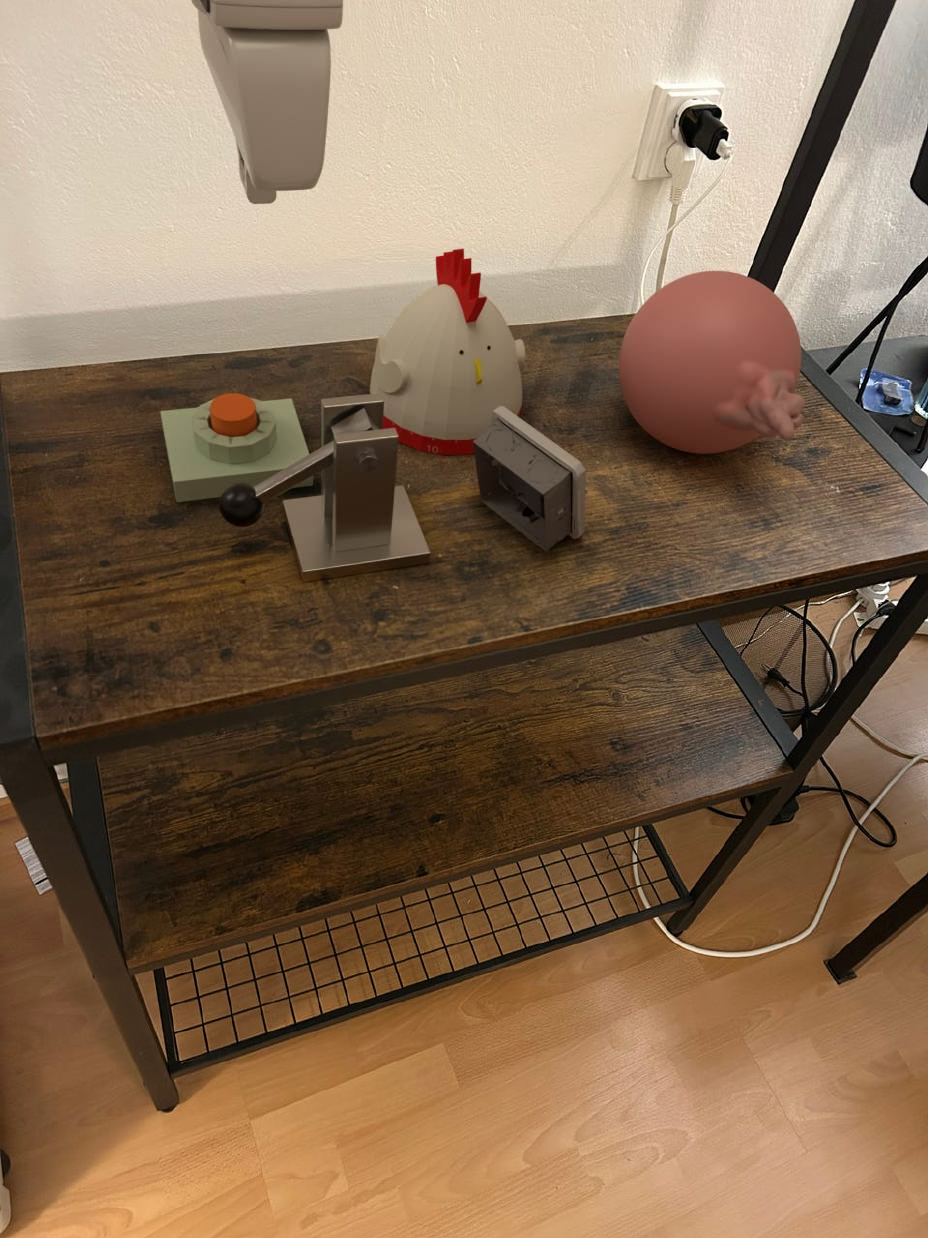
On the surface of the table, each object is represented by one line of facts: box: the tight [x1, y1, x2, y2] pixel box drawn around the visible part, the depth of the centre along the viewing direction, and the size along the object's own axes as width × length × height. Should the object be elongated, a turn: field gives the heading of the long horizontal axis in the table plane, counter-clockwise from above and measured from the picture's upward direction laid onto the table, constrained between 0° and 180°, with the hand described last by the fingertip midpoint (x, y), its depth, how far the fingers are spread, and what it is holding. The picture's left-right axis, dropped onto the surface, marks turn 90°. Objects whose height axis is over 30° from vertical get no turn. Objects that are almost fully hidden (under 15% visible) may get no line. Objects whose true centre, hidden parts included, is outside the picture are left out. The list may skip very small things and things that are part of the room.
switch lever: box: [218, 408, 379, 528], centre depth 70 cm, size 13×3×3 cm
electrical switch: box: [473, 406, 587, 552], centre depth 77 cm, size 9×5×9 cm, turn 44°
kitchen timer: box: [369, 248, 526, 456], centre depth 83 cm, size 14×14×15 cm
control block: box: [160, 397, 314, 503], centre depth 80 cm, size 11×9×4 cm
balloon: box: [618, 270, 806, 455], centre depth 83 cm, size 15×20×15 cm
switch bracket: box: [282, 393, 432, 583], centre depth 72 cm, size 10×8×12 cm
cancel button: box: [210, 392, 257, 437], centre depth 78 cm, size 4×4×2 cm
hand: (258, 192), depth 61 cm, fingers closed
